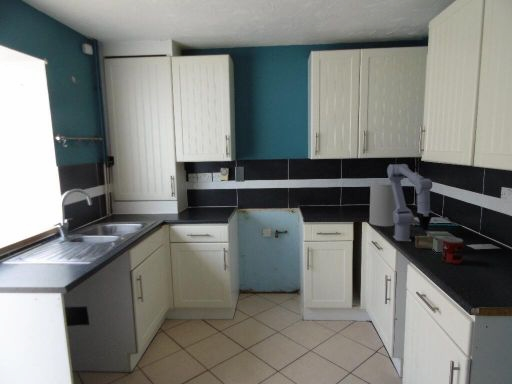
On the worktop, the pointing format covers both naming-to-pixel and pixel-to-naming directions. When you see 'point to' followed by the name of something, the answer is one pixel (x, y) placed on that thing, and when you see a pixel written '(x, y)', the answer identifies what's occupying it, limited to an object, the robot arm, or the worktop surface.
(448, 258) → the canned food
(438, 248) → the grey block
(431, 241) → the brown-tipped cream rod
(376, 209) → the cylinder
